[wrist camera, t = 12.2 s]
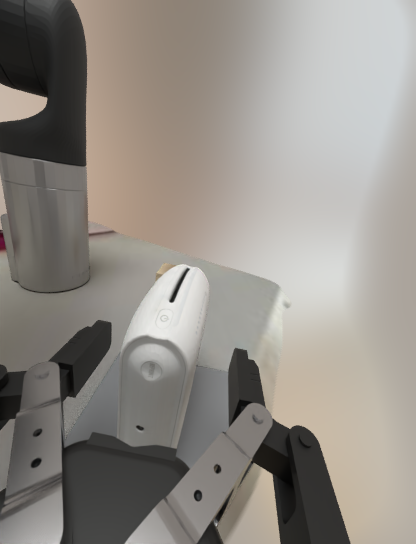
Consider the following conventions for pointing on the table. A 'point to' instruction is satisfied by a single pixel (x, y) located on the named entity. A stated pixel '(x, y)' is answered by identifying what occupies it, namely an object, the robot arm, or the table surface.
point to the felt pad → (197, 422)
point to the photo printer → (161, 358)
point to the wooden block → (163, 270)
